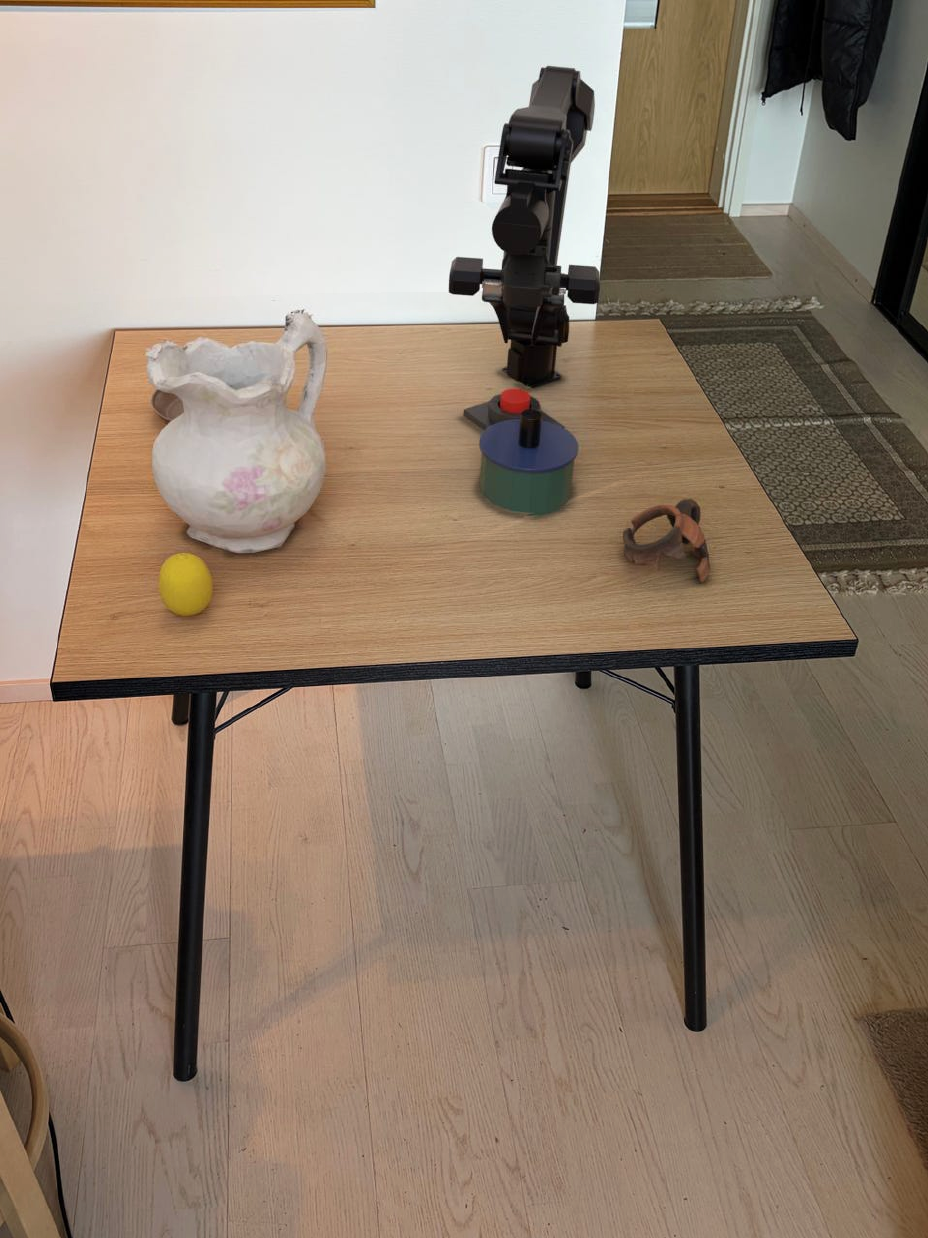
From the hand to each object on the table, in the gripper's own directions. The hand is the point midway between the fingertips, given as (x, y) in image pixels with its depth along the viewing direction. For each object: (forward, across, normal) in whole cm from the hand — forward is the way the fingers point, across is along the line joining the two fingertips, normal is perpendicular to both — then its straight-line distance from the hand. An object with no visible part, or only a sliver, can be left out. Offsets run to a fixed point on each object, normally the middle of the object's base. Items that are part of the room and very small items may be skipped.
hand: (519, 342), depth 152 cm
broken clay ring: (+13, +20, -29) cm, 37 cm away
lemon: (+13, -33, -45) cm, 57 cm away
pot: (+12, +2, -16) cm, 20 cm away
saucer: (+13, -41, -3) cm, 43 cm away
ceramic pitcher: (+13, -30, -27) cm, 42 cm away
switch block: (+12, 0, 0) cm, 12 cm away
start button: (+9, 0, 0) cm, 9 cm away
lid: (+6, +2, -16) cm, 17 cm away
